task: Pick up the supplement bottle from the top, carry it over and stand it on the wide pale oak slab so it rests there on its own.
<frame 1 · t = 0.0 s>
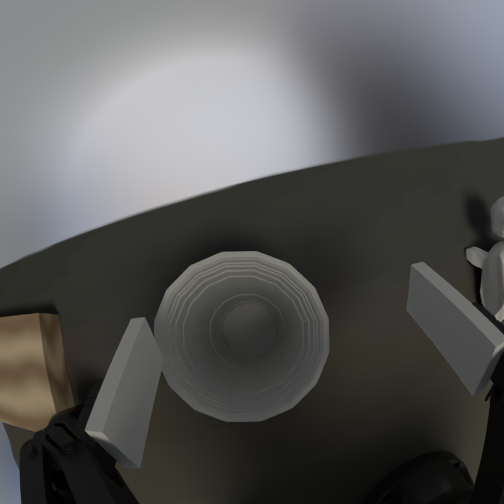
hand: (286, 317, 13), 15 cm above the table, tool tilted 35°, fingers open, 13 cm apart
plastic cup: (252, 330, 28), on the table
supplement bottle: (113, 421, 26), on the table
oak block: (31, 372, 28), on the table
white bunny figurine: (488, 268, 28), on the table
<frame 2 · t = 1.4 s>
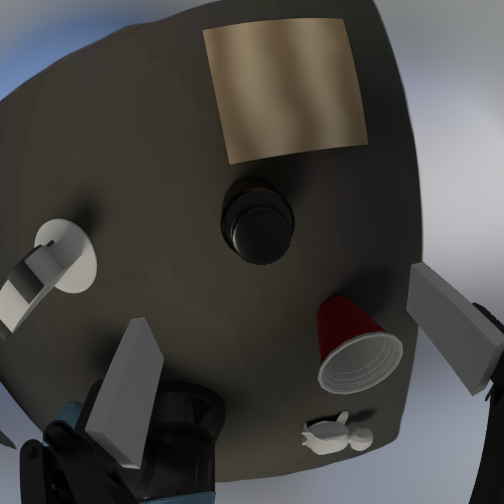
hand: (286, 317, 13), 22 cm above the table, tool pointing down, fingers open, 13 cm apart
disc-based toy figure: (66, 255, 35), on the table
plastic cup: (334, 312, 41), on the table
supplement bottle: (251, 204, 34), on the table
oak block: (283, 88, 29), on the table
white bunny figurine: (332, 422, 53), on the table
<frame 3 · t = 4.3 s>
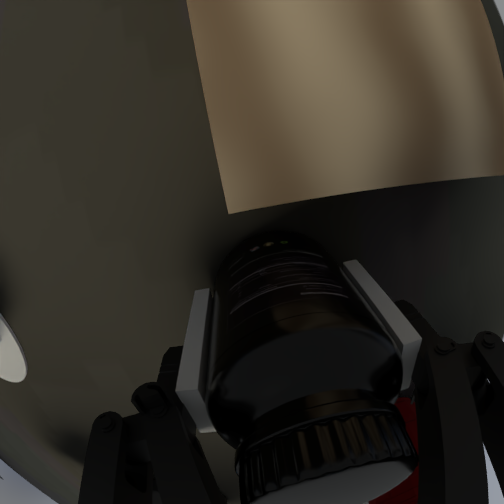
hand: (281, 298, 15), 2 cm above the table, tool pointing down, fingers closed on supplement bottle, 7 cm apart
plastic cup: (385, 414, 23), on the table
supplement bottle: (276, 282, 16), on the table, touching gripper
oak block: (349, 35, 11), on the table
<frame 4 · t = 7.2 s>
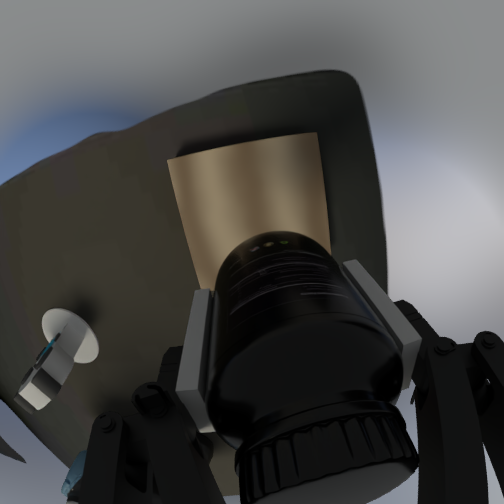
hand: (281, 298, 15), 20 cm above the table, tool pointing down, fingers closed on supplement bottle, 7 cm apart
disc-based toy figure: (70, 335, 39), on the table
supplement bottle: (276, 282, 16), point 18 cm above the table, touching gripper
oak block: (253, 207, 33), on the table
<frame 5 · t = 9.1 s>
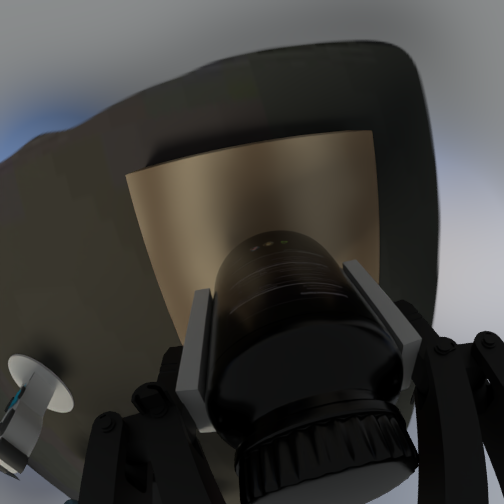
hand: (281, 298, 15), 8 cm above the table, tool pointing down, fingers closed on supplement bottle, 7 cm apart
disc-based toy figure: (41, 383, 28), on the table
supplement bottle: (276, 282, 16), point 6 cm above the table, touching gripper
oak block: (265, 242, 22), on the table
when the fingers open (7 cm above the table, at t = 10.4 s): supplement bottle drops 2 cm, resting on oak block.
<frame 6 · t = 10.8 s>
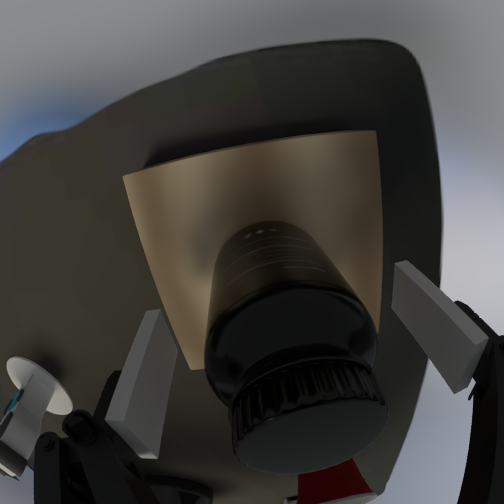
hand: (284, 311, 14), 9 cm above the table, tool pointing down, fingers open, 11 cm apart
disc-based toy figure: (39, 385, 28), on the table
plastic cup: (318, 440, 34), on the table
supplement bottle: (269, 268, 18), point 4 cm above the table, touching oak block
oak block: (265, 244, 22), on the table
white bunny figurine: (311, 496, 46), on the table
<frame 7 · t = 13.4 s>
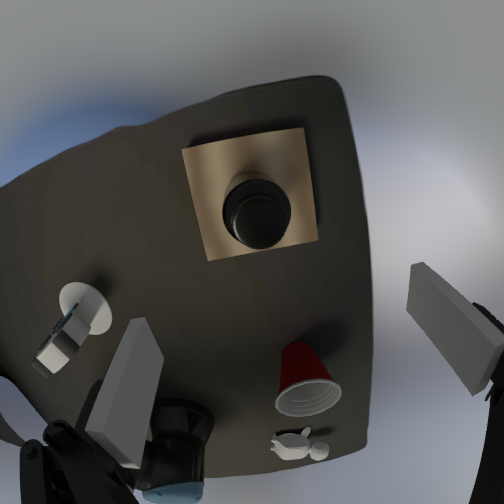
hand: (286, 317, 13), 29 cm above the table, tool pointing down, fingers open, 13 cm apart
disc-based toy figure: (86, 307, 45), on the table
plastic cup: (296, 352, 52), on the table
supplement bottle: (251, 196, 36), point 4 cm above the table, touching oak block
oak block: (251, 189, 39), on the table
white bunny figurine: (297, 434, 64), on the table
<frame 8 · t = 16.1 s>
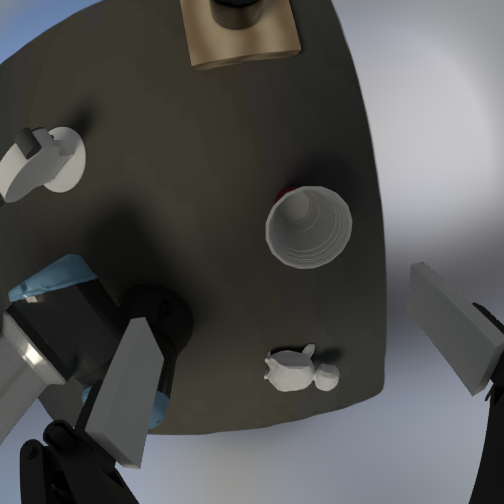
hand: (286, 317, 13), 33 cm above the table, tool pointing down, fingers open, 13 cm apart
disc-based toy figure: (61, 158, 39), on the table
plastic cup: (291, 206, 45), on the table
supplement bottle: (236, 12, 29), point 4 cm above the table, touching oak block
oak block: (237, 21, 33), on the table
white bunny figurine: (297, 358, 58), on the table
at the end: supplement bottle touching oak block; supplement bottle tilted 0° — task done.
